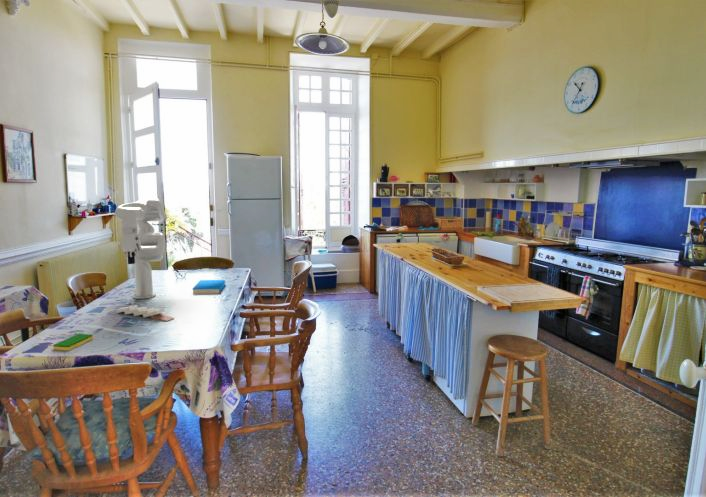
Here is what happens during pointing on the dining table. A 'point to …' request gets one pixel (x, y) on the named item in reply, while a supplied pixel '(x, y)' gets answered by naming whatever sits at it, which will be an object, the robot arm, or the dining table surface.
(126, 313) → the domino
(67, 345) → the dish sponge
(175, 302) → the dining table surface
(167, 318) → the domino
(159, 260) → the robot arm
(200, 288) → the book
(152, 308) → the domino
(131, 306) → the domino
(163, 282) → the dining table surface
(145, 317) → the mat
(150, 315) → the domino
